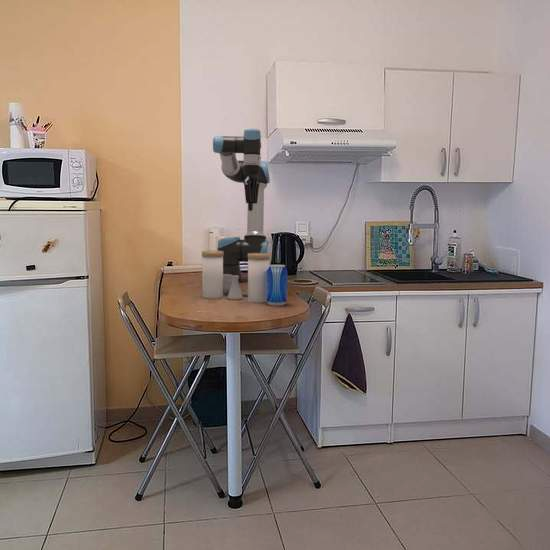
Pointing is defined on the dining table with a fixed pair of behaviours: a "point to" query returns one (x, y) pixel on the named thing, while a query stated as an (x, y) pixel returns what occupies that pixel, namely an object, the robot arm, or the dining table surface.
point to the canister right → (257, 276)
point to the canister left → (212, 274)
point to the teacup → (227, 282)
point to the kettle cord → (242, 294)
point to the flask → (235, 289)
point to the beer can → (276, 285)
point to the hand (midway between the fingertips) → (251, 218)
